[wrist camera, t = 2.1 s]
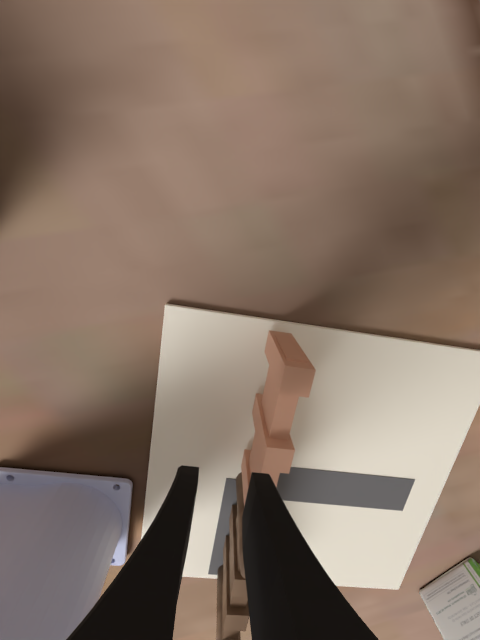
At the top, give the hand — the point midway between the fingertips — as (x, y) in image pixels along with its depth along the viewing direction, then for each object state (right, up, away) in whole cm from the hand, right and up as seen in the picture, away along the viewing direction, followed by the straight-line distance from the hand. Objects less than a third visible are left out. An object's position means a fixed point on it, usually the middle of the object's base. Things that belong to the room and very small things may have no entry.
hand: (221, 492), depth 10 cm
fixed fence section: (0, -10, +12) cm, 16 cm away
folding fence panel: (+2, +1, +9) cm, 9 cm away
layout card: (+5, -5, +12) cm, 14 cm away
